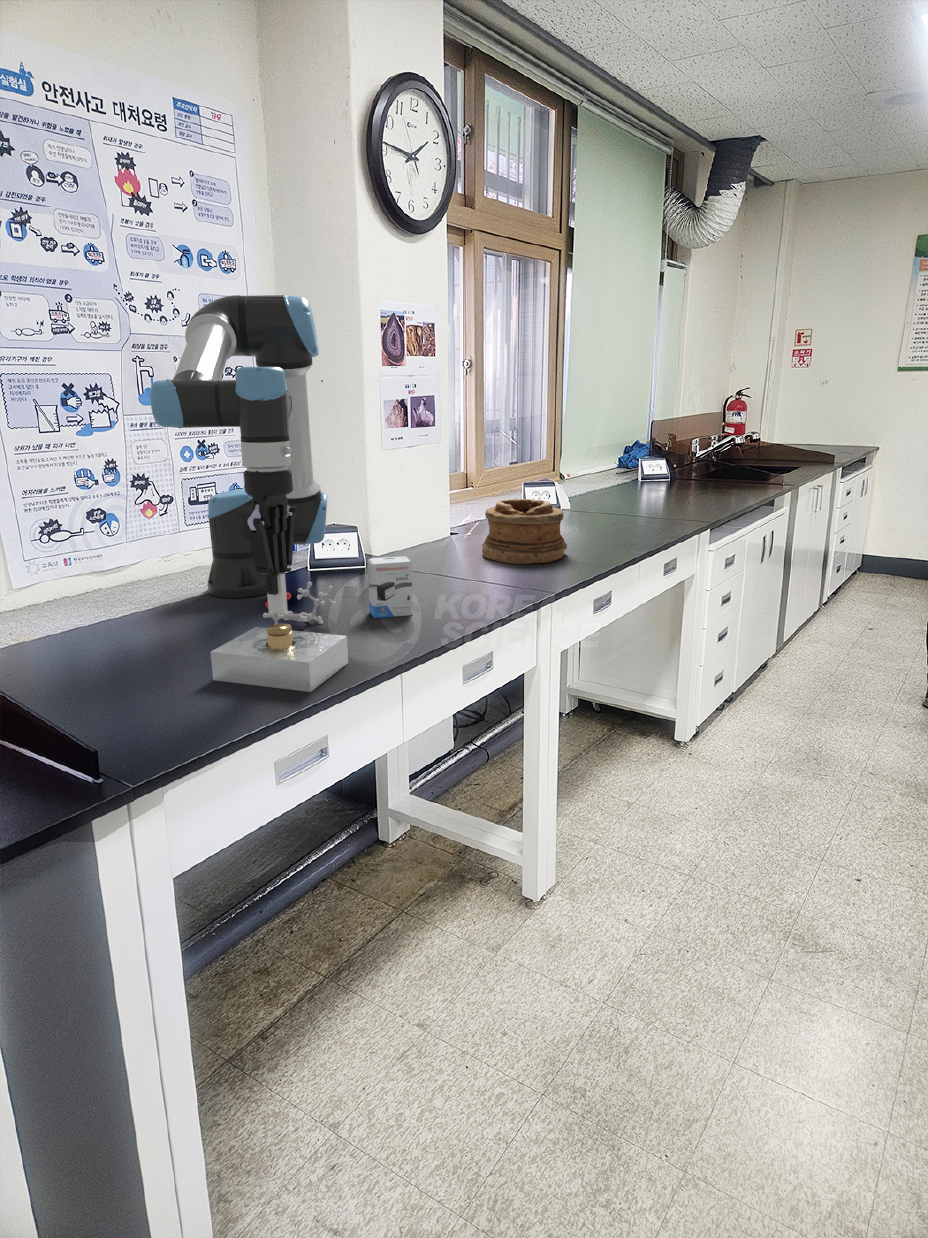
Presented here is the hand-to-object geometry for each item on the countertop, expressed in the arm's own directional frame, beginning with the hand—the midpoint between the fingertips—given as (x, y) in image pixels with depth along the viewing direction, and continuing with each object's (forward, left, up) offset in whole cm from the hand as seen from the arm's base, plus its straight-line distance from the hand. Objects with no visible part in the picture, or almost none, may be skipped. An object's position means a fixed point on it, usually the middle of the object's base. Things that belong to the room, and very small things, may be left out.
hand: (278, 611), depth 134 cm
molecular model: (-9, +21, -11) cm, 25 cm away
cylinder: (0, 0, -11) cm, 11 cm away
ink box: (+5, +37, -11) cm, 39 cm away
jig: (0, 0, -11) cm, 11 cm away
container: (+19, +100, -11) cm, 102 cm away
